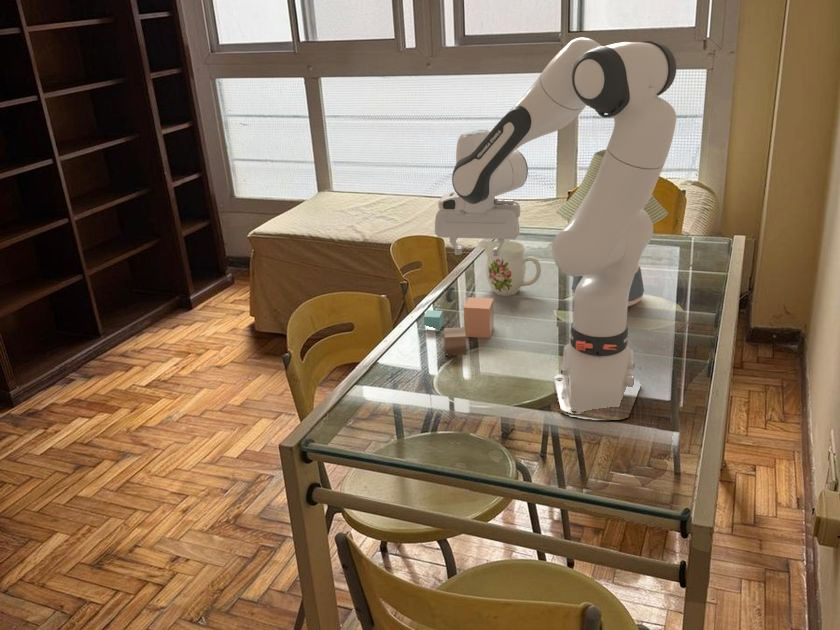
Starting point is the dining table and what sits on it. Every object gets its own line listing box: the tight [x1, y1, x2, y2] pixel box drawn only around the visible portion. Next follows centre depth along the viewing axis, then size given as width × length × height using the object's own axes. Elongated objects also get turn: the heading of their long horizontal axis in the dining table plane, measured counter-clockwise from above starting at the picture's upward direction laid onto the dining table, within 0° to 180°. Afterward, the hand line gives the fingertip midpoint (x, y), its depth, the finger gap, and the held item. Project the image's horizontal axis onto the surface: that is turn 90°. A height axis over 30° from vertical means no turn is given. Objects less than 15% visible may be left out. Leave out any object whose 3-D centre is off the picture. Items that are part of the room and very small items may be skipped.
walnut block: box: [443, 326, 467, 356], centre depth 194 cm, size 5×5×5 cm
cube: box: [423, 309, 444, 331], centre depth 206 cm, size 4×4×4 cm
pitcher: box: [477, 240, 542, 297], centre depth 224 cm, size 11×18×14 cm, turn 67°
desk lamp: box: [555, 149, 669, 307], centre depth 209 cm, size 26×28×42 cm
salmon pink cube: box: [463, 296, 495, 339], centre depth 202 cm, size 6×6×8 cm
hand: (477, 254), depth 195 cm, fingers open, 8 cm apart
